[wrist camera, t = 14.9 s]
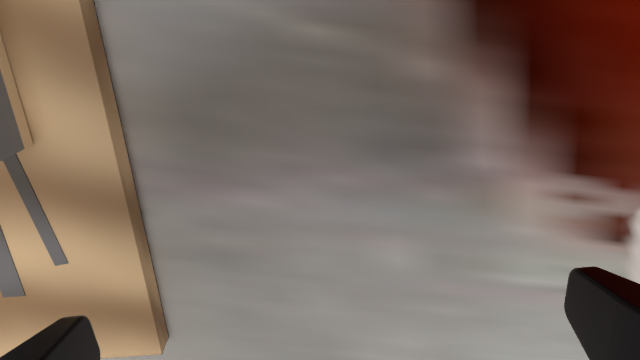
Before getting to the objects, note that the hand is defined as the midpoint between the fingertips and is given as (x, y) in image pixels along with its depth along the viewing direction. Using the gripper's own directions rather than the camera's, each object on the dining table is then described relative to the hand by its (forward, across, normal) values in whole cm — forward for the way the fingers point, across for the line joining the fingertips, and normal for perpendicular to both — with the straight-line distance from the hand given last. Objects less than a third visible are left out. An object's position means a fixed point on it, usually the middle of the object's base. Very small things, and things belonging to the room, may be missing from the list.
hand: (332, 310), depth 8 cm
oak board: (+12, +14, +1) cm, 18 cm away
